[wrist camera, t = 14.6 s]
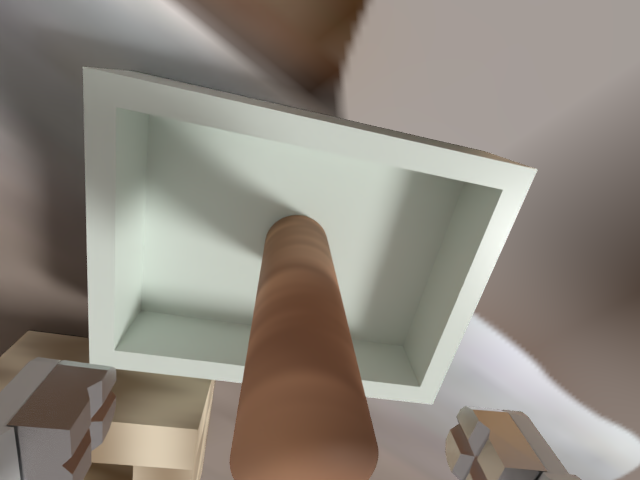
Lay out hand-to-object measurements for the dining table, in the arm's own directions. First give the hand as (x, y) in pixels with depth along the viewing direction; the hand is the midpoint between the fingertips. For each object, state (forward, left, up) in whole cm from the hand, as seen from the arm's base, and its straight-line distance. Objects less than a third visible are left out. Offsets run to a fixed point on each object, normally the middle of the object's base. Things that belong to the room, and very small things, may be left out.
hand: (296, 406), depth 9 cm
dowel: (0, 0, -10) cm, 10 cm away
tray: (0, 0, -11) cm, 11 cm away
